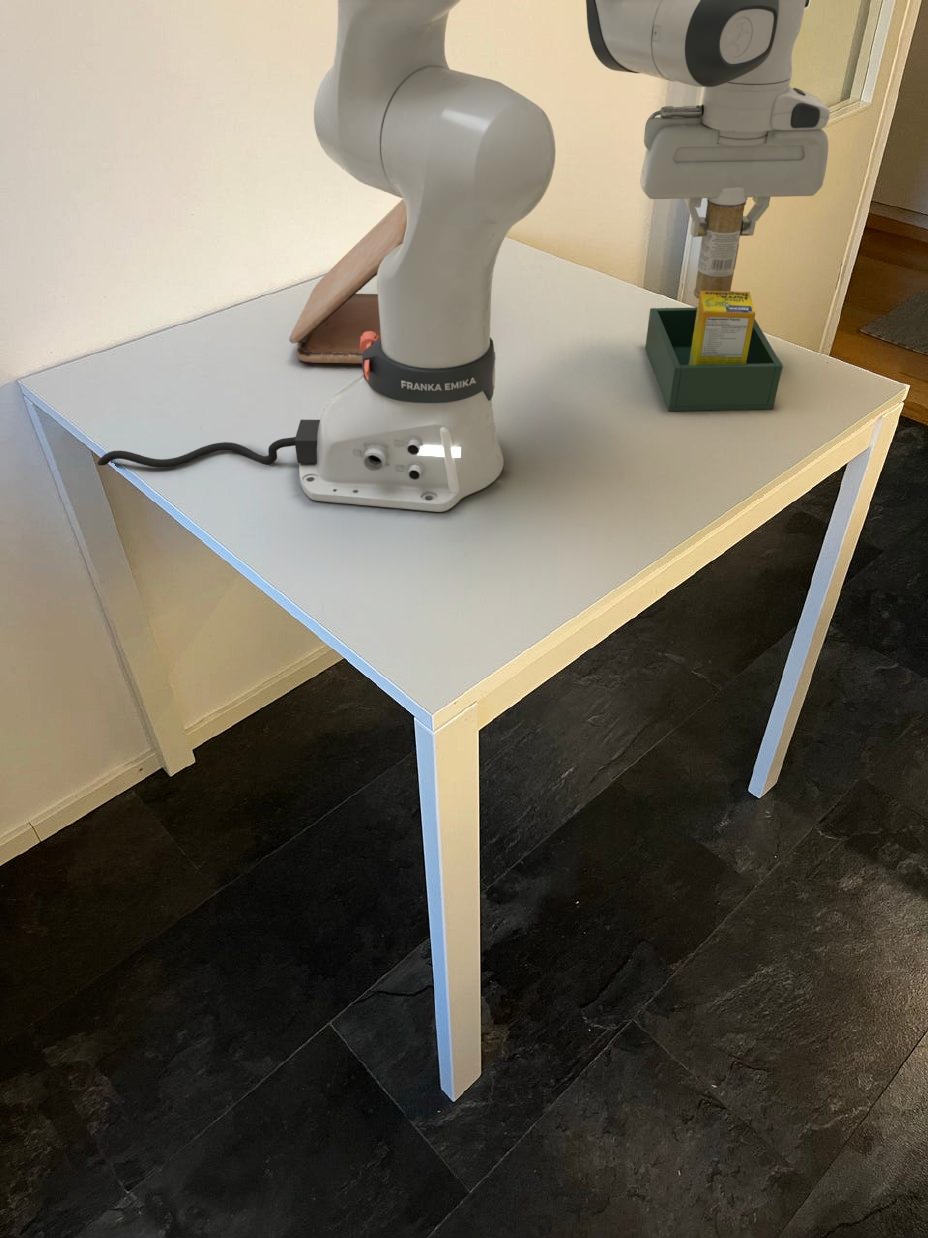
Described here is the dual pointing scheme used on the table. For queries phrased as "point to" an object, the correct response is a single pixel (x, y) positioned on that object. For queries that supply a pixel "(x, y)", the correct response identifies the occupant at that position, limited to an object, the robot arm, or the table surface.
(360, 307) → the case
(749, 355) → the box
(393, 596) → the table surface
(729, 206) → the sprinkles bottle
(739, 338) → the supplement box
